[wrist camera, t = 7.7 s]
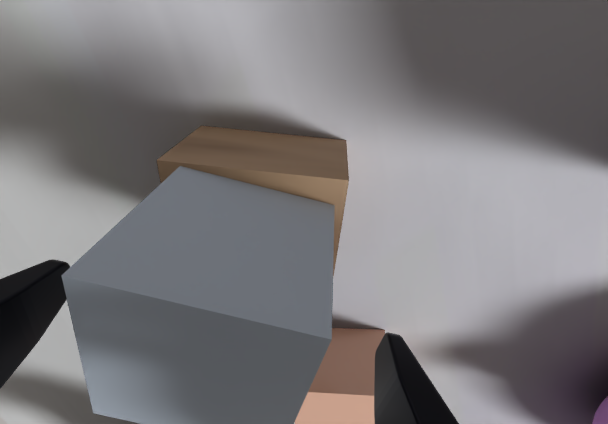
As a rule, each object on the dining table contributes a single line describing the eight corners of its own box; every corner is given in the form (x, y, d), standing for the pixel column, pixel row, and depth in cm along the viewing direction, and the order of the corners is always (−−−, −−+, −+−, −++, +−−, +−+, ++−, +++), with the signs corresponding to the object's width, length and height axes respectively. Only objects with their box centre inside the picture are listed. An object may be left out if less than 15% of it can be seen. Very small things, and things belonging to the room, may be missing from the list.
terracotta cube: (379, 378, 21) (386, 447, 18) (304, 374, 22) (297, 441, 18) (384, 327, 19) (394, 396, 15) (298, 324, 19) (290, 391, 16)
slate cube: (299, 309, 13) (280, 454, 9) (176, 279, 13) (93, 413, 8) (334, 205, 10) (331, 339, 6) (180, 165, 10) (61, 275, 6)
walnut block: (329, 252, 16) (327, 315, 13) (213, 239, 16) (181, 297, 13) (346, 138, 13) (348, 180, 10) (203, 124, 13) (156, 160, 10)
